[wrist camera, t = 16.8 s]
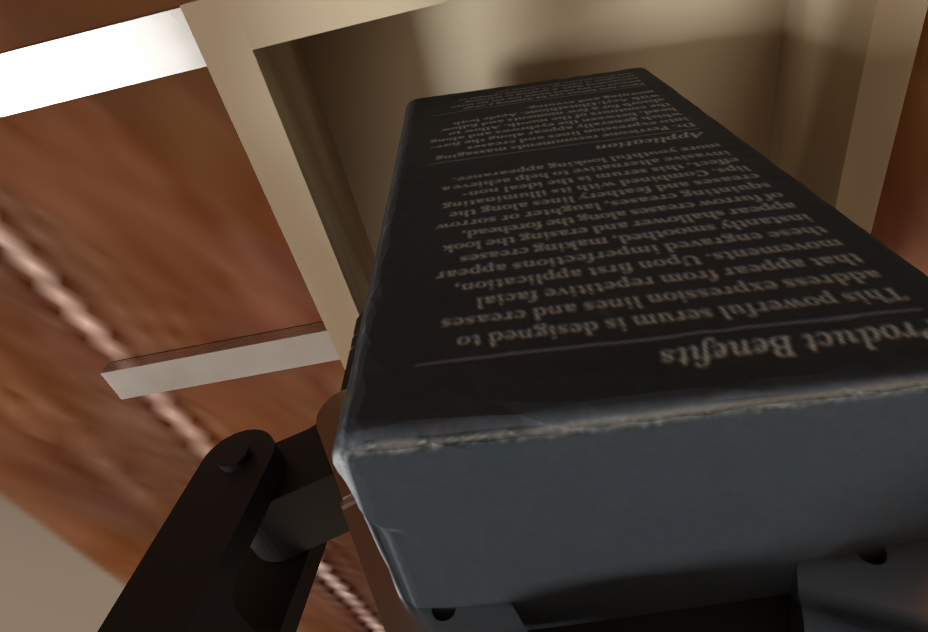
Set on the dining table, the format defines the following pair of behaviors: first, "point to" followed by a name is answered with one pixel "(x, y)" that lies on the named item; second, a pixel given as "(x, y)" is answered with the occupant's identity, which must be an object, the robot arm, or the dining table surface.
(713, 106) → the light wooden open box
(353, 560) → the dining table surface
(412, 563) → the box
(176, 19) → the rails
